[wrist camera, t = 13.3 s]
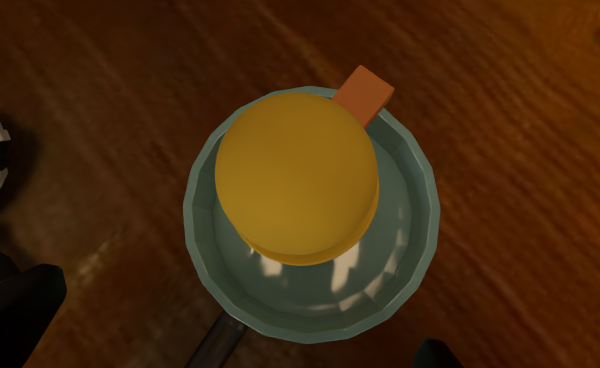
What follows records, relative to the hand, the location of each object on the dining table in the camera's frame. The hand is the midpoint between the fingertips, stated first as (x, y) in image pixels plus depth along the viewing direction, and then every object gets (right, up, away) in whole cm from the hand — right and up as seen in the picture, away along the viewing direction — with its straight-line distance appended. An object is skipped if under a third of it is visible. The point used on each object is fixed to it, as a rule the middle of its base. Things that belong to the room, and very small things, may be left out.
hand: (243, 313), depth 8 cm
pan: (+2, +1, +13) cm, 13 cm away
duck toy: (+2, +1, +12) cm, 13 cm away
